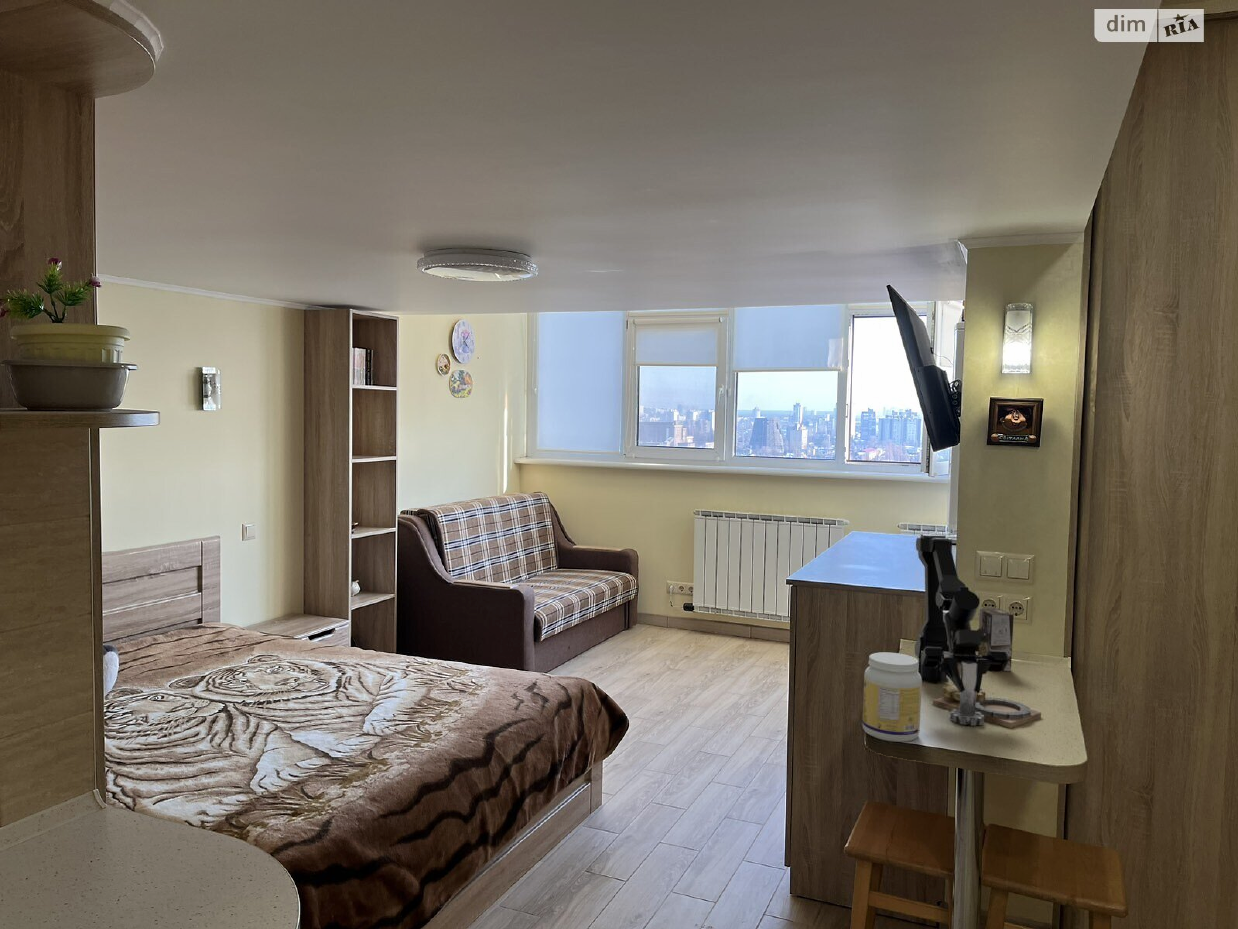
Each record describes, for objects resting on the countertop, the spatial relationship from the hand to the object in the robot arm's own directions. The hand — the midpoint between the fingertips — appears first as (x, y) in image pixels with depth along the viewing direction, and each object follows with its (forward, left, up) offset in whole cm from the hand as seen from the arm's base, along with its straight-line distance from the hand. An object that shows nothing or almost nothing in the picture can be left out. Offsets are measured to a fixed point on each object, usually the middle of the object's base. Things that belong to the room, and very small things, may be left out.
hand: (969, 692), depth 201 cm
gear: (-1, +1, -7) cm, 7 cm away
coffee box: (-24, +53, -8) cm, 59 cm away
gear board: (-3, +12, -7) cm, 15 cm away
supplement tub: (-6, -21, -8) cm, 23 cm away
